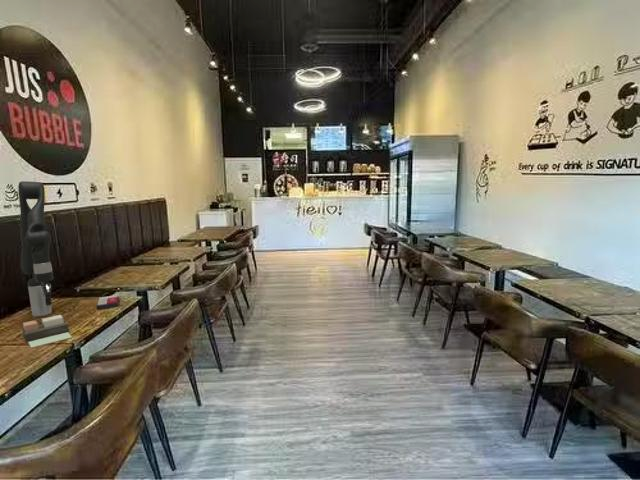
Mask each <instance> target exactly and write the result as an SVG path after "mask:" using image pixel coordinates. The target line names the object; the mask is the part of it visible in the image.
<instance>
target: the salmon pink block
mask: <svg viewBox="0 0 640 480" xmlns="http://www.w3.org/2000/svg"><path fill="white" fill-rule="evenodd" d="M22 324H23V328H24V330H25V332H28V331H32V330H37V329H38V324H39V323H38V322H37V321H36V320H30V321H26V322H22Z"/></svg>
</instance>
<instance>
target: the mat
mask: <svg viewBox="0 0 640 480" xmlns="http://www.w3.org/2000/svg"><path fill="white" fill-rule="evenodd" d="M68 339H69V340H70V339H73V337H72V335H71V334H70V332H66V333H62V334H58V335H54V336H50V337H46V338H42V339H38V340H34V341H30V342H28V343H27V344H28V345H29V348H30V349H34V348H38V347H41V346H46V345H49V344H53V342H54V343H56V342H57V341H58V342H60V341H64V340H68ZM33 347H34V348H33Z"/></svg>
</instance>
